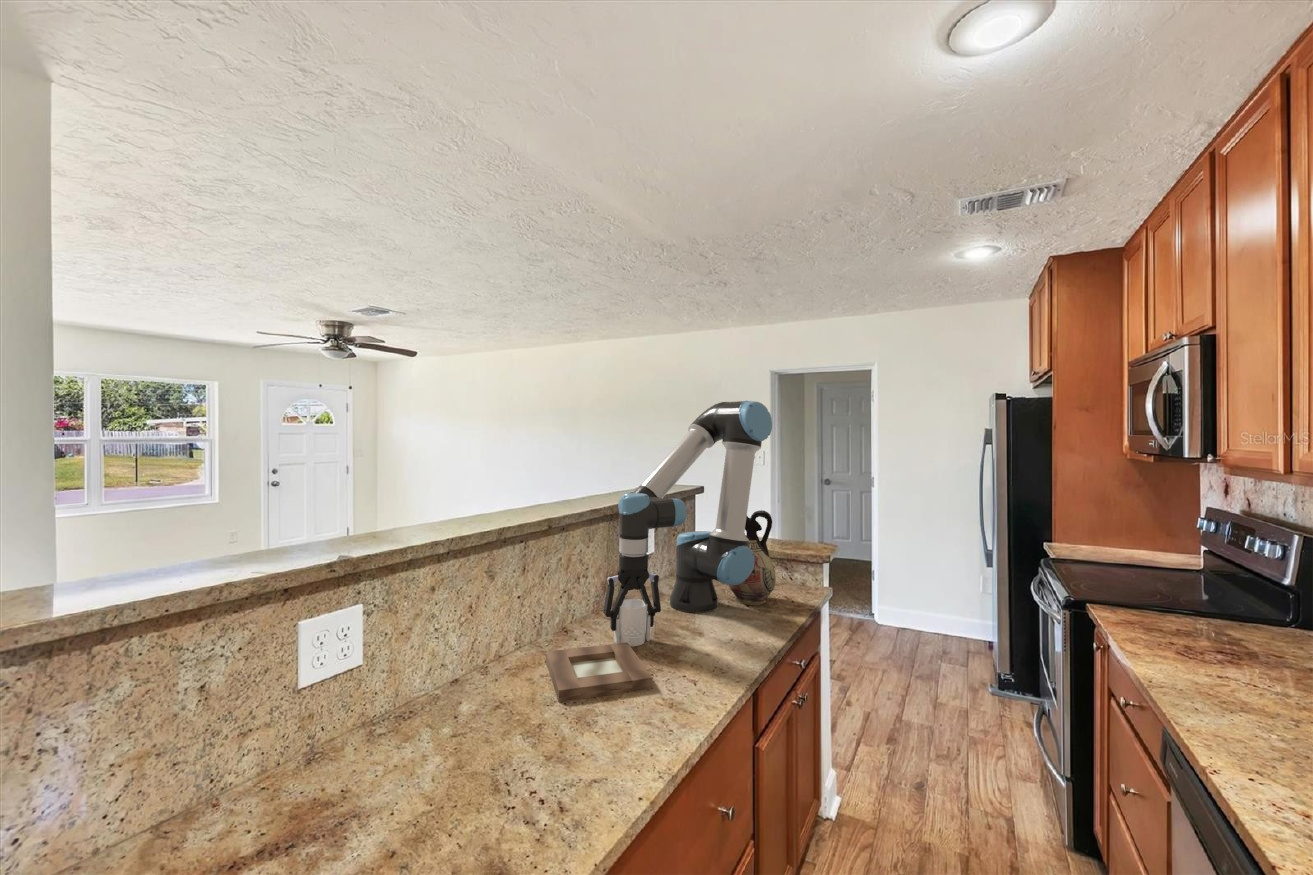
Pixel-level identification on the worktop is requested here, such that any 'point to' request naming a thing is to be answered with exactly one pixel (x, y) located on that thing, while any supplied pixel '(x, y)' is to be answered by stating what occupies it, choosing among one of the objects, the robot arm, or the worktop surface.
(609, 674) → the wooden picture frame
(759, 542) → the ceramic jug
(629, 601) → the white cup
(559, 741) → the worktop surface
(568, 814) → the worktop surface
